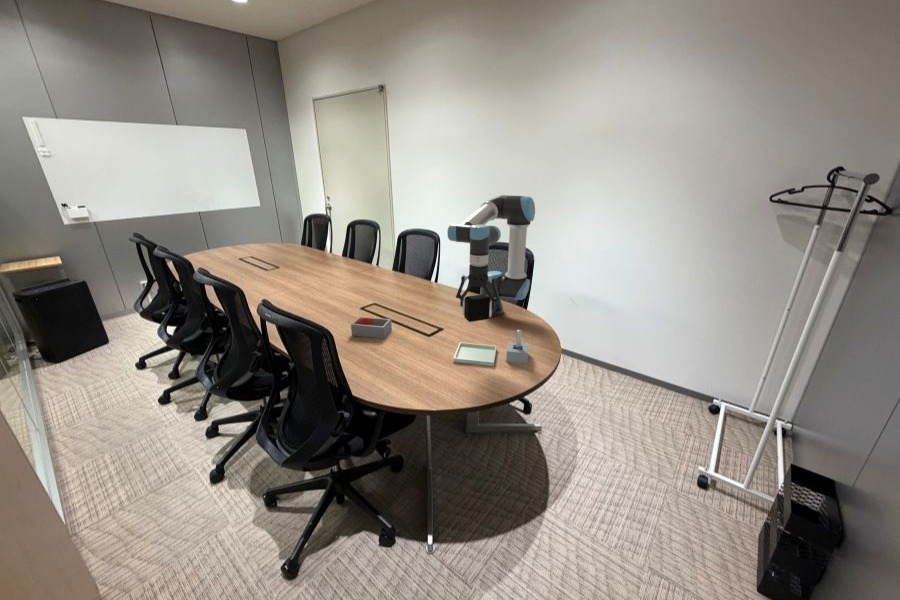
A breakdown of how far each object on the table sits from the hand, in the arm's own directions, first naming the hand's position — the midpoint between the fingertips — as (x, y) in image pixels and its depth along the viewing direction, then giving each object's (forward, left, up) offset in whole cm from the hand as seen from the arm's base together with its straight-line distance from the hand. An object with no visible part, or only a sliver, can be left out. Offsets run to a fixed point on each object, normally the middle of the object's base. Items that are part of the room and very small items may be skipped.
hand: (477, 314), depth 154 cm
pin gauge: (-2, +18, -19) cm, 26 cm away
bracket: (-13, -55, -20) cm, 60 cm away
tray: (0, 0, -20) cm, 20 cm away
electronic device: (0, 0, -2) cm, 2 cm away
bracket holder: (-12, -54, -20) cm, 59 cm away
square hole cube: (-2, +18, -20) cm, 27 cm away
